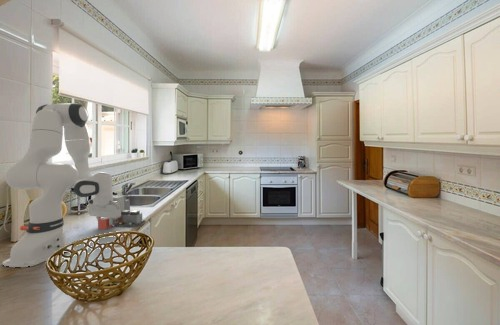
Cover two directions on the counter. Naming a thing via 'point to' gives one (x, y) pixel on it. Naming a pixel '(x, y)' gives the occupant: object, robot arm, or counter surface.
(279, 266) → the counter surface
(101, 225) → the red cube
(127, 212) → the plunger
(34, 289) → the counter surface
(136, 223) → the breaker panel
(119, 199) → the circuit breaker
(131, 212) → the plunger
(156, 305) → the counter surface
